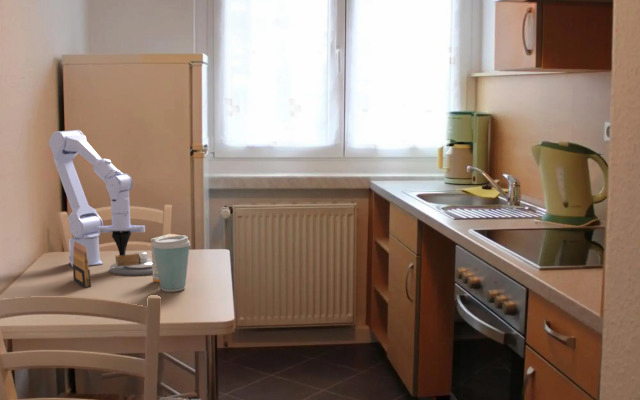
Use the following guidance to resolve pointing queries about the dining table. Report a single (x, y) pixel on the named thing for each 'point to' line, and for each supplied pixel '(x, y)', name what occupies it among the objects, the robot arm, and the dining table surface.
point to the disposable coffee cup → (172, 261)
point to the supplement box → (154, 266)
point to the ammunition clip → (81, 266)
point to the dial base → (130, 271)
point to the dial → (134, 261)
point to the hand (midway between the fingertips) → (122, 254)
